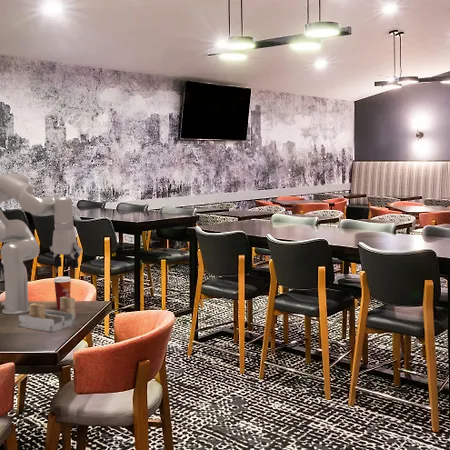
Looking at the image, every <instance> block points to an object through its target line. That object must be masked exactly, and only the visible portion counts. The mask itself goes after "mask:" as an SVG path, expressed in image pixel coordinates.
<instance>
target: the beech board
mask: <svg viewBox="0 0 450 450" xmlns="http://www.w3.org/2000/svg"><path fill="white" fill-rule="evenodd" d="M75 300H76V299H75V297H71V296H70V297H61V298H60V311H61V312H68V313H74V320H76V301H75Z"/></svg>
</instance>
